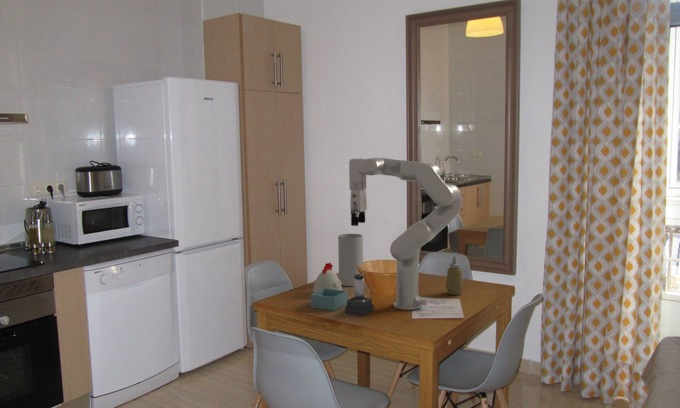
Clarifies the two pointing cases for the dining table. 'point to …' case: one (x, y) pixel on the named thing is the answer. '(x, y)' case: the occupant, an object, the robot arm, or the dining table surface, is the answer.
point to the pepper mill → (359, 287)
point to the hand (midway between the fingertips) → (358, 224)
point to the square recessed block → (359, 307)
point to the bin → (329, 299)
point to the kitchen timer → (327, 279)
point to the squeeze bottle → (454, 278)
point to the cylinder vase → (349, 257)
